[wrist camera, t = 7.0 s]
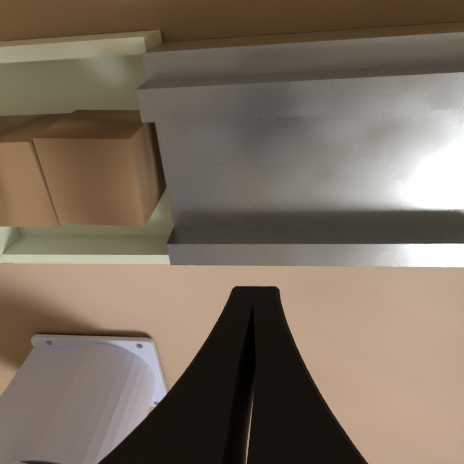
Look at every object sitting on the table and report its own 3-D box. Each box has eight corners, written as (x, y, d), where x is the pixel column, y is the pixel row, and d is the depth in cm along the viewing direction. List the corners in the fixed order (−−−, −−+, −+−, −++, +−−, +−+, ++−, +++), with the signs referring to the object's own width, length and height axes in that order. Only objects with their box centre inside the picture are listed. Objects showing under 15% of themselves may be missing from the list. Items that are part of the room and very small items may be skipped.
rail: (191, 230, 22) (173, 281, 19) (162, 42, 17) (129, 59, 13) (444, 229, 21) (481, 284, 17) (502, 19, 15) (574, 31, 12)
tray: (21, 238, 24) (-4, 262, 22) (-65, 46, 18) (-110, 54, 16) (192, 238, 23) (183, 264, 21) (160, 29, 17) (143, 36, 15)
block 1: (94, 187, 21) (26, 188, 21) (73, 113, 19) (-3, 115, 19) (59, 226, 17) (-21, 226, 18) (28, 142, 15) (-62, 144, 16)
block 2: (94, 184, 21) (59, 223, 17) (76, 109, 18) (31, 138, 15) (167, 186, 20) (145, 226, 17) (157, 110, 18) (129, 139, 15)
